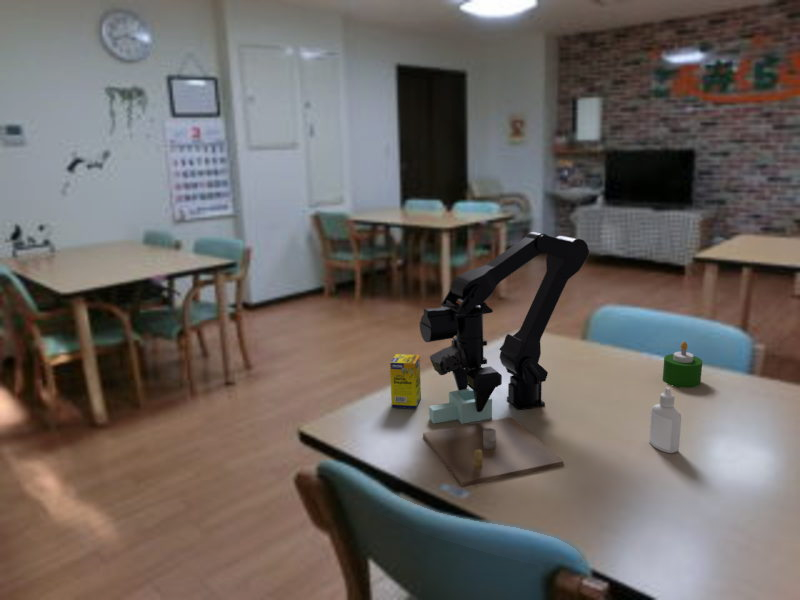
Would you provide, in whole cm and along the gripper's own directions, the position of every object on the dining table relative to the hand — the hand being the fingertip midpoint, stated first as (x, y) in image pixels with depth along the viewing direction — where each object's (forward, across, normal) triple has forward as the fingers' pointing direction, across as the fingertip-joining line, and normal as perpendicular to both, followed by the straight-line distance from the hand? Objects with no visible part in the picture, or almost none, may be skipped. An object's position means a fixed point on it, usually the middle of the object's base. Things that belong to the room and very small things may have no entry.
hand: (470, 403), depth 133 cm
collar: (+3, 0, -3) cm, 4 cm away
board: (+3, +16, -3) cm, 17 cm away
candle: (+3, +2, +54) cm, 54 cm away
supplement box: (+3, -11, -11) cm, 16 cm away
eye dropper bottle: (+3, +27, +28) cm, 39 cm away
